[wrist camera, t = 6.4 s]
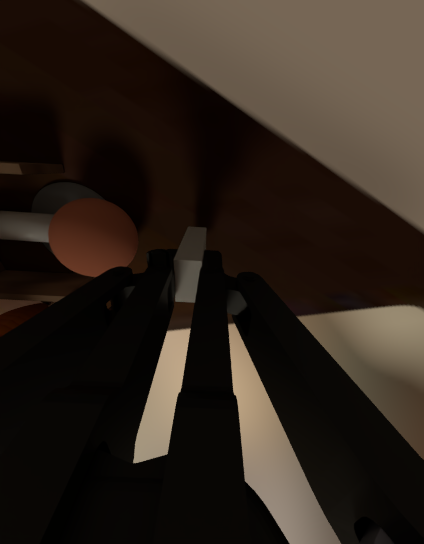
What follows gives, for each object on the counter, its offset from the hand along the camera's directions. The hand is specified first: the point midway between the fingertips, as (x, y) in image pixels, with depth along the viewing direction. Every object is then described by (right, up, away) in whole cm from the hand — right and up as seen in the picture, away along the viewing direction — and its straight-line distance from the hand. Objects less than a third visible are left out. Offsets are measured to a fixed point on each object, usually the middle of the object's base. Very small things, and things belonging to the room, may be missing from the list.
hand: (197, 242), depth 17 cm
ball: (-8, 0, -1) cm, 8 cm away
